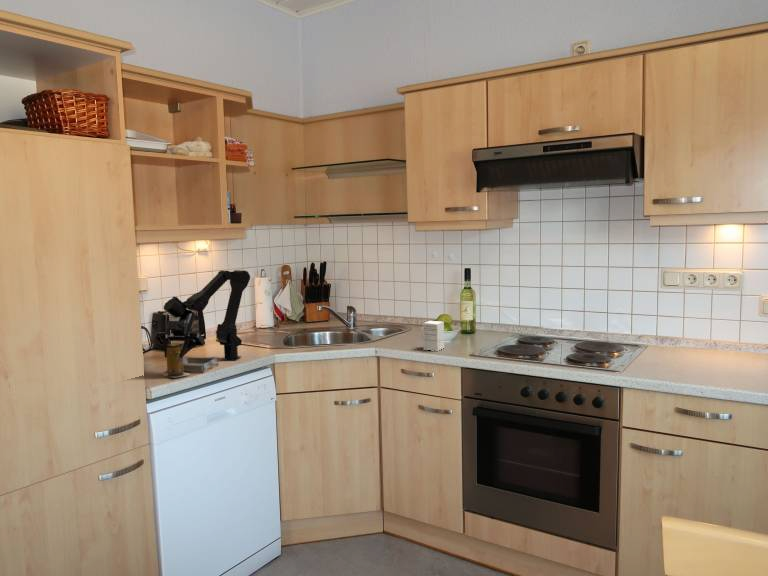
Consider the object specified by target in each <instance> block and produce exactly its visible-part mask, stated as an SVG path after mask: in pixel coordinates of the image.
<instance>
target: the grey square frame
mask: <svg viewBox="0 0 768 576" xmlns="http://www.w3.org/2000/svg"><path fill="white" fill-rule="evenodd" d="M183 366H184V371H183V372H184V373H189V374H205V373H207V372H209V371H210V370H212V369H214V368H216V367H218V366H219V362H218V357H183ZM215 366H216V367H215ZM213 367H214V368H213ZM211 368H212V369H211Z"/></svg>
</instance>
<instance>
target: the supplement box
mask: <svg viewBox="0 0 768 576" xmlns="http://www.w3.org/2000/svg"><path fill="white" fill-rule="evenodd" d="M422 341H423V348H422V349H423V351H424V350H434V351H438V352H440V351H442V350H444V349H445V322H444V321H441V320H427V321H425V322H423V323H422ZM443 348H444V349H443ZM441 349H442V350H441ZM439 350H440V351H439ZM434 351H433V352H434Z"/></svg>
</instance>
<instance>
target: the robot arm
mask: <svg viewBox="0 0 768 576" xmlns="http://www.w3.org/2000/svg"><path fill="white" fill-rule="evenodd" d="M250 280H251V275H250V273H249V272H248V270H244V269H243V270H240V269H238V270H233V271H229V270H223V269H222V270H220V271H218V272H217V273H216V275H215V276H214V277H213V278H212V279H211V280H210V281H209V282H207V284H206V285H205V286H204V287H203V288H202V289H201V290H200V291H198V292H196V293H194V294H192V295H191V296H189V297H188V298H186V300H185V301H182V300H180V298H178V297H177V296H172V298H170V299H168V300H167V301H166V302H165V304H164V306H163V310H164V311H165V312H167V313H168V314H169V315H170V316H172V318H175V319H177V318H178V320H168V321H167V327H166V329H167V330H169V331H170V334H171V335H169V334H168V333H167V332H165V331H163V332H161V331H158V332H156V333H155V335H154V339H155V340H156V342H157V343H158V344H159V345H160V346H163V347H164V348H163V349H164V357H165V358H166V359H167V355H166V352H167V351H168V350H167V345H168V344H172V343H171V342H183V346H182V347H181V348H182V349H181V350H182V351H181V353H180V357H181V358H182V357H183V358H184V356H186V355H187V353H189V352H190V351H191V350H193V348H197V346H201V347H202V346H204V343H205V339H204V337H203V336H202V334H201V333H200V332H199V331H197V332H196V331H195V332H193V329H192V327H193V323H194V322H195V321H199V320H200V317H199V316H198V314H197V313H195V312H202V311H204V310H205V308H206V307H207V305H209V302H210V299H211V297H212V296H213V295H214V294H215V293H217V291H219V290H220V288H222V286H223V285H225V283H226V282H227V281H229V285H230V294H229V298H228V303H227V307H226V309H225V315H224V318H223V319H224V320H223V321H222V323H220V324H219V323H218V324H217V328H216V331H215V334H216V335H215V338H216V339H217V341H218V342H219V344H220V346H223V354H224V357H223V358H221V361H236V360H239V359H241V358H242V356H240V355H239V352H238V351H239V350H238V348H239V346H241V345H242V342H243V340H242V339H241V338H240V337H239V336H238V329H237V325H236V321H237V318H238V317H237V316H238V314H239V310H240V309H239V308H240V304H241V301H242V296H243V292H244V290H245V289H247V287H248V285H249V283H250Z"/></svg>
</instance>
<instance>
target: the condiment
mask: <svg viewBox="0 0 768 576" xmlns="http://www.w3.org/2000/svg"><path fill="white" fill-rule="evenodd" d="M182 348H183V347H182V344H181V343H180V342H179V343H178V342H174V343H173V342H172V343H171V344H168V345H167V350H168V351H167V352H166V355H167V358H166V366H167V367H166V368H167V369H166V371H167V372H166V373H163V374H162V375H164V376H165V377H170V378H180V377H181V378H182V377H185V376H189V375H190V373H184V372H183V371H184V366H183V359H184V356H183V357H182V358H181V357H180V353H181V351H182Z"/></svg>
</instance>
